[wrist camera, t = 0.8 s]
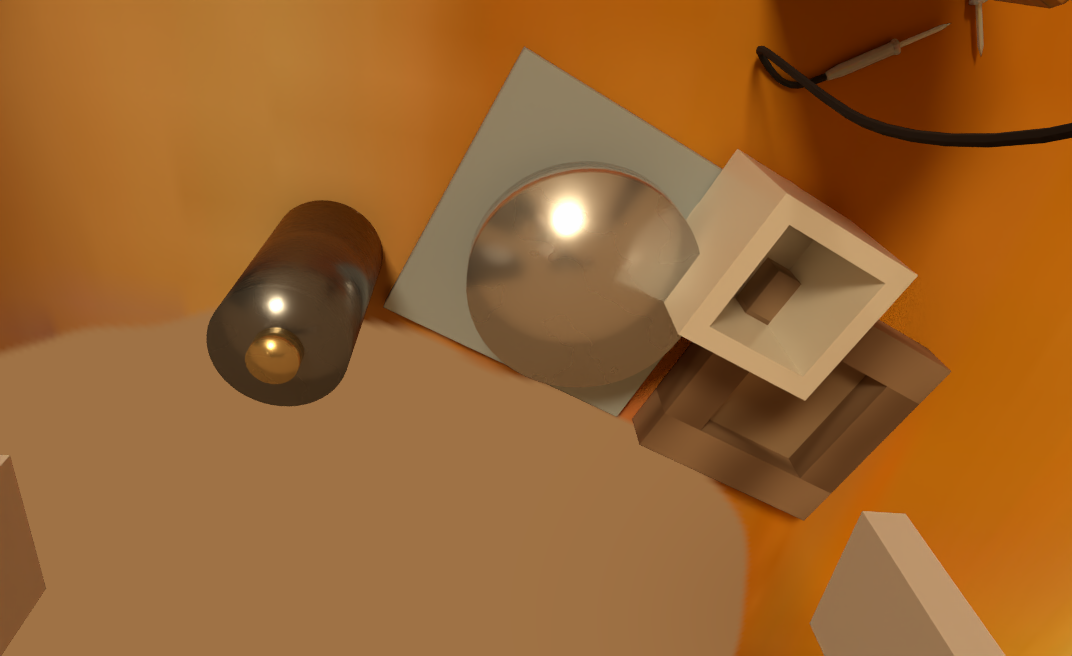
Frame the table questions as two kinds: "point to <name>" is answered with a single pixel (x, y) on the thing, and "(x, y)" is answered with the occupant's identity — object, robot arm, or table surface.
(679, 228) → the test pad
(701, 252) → the cup
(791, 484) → the brown square tray
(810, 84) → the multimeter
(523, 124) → the base
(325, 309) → the cell
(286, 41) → the table surface
